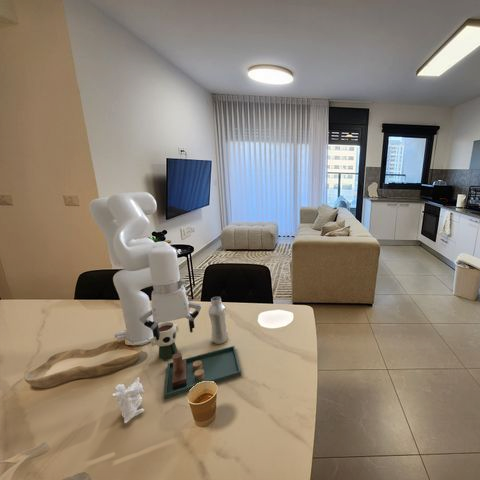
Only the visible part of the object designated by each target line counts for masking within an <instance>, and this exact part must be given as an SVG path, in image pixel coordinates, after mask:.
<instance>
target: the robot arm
mask: <svg viewBox="0 0 480 480" xmlns="http://www.w3.org/2000/svg"><path fill="white" fill-rule="evenodd" d="M157 207H158V205H157V200H156V199H155V197H154V196H153V195H152V194H151V193H149V192H146V191H137V192H136V191H134V192H133V191H132V192H120V193H119V192H117V193H115V194H114V193H113V194H112V195H110V196H105V197H98V198H94V199H92V200H91V201H90V202H89V204H88V208H89V213H90V216H91V218H92V220H93V221H94V223H95V224H96V225H97V227H98V228H99V229H100V230H101V233H102V234H103V236H104V240H105V243H106V246H107V249H108V252H109V256H110V259H111V261H112V263H113V264H114V265H115V266H117V267H122V268H123V269H120V270H118V271H117V272H116V273H115V274H114V275H113V277H112V281H113V285H114V288H115V290H116V292H117V294H118V298H119V301H120V305H121V311H122V315H123V320H124V325H125V330H123V331H118V332H115V333H114V337H115V338H116V340H117V341H118V340H122V339H123V340H124V339H126V340H128V341H129V342H130V343H132V344H136V345H139V346H143V345H147V344H148V343H151V341H150V340H151V338H153V337H156V341H157V340H159V337H160V332H159V327H158V324H160V323H164V322H173V321H176V320H181V319H187V320H188V327H189V333H193V329H195V328H196V327H195V319H196V318H197V317H198V316H199V313H200V311H201V308H202V304H199V303H196V302H190V301H189V297H188V293H187V290H186V287H185V286H184V285H186V284H187V280H186V279H182V278H181V274H180V266H179V259H178V253H177V249H176V248H175V247H173V246H171V244H170V243H169V242H167V241H163V240H162V241H156V242H155V241H154V240H153V239H152V238H149V237H144V238H138V237H140V236H142V235H143V234H144V233H145V232H147V230H148V229H150V228H149V227H150V220H149V218H148V217H147V216H150V215H153V214H155V213H156V212H157ZM136 238H138V239H136ZM149 287H152V289H153V290H152V291H151V301H150V297H149V295H148V294H147V293H145V292H144V291H141V290H143V289H147V288H149ZM190 309H195V310H194V311H193V312H191V311H190ZM139 346H138V347H139Z"/></svg>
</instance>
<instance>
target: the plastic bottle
mask: <svg viewBox="0 0 480 480" xmlns="http://www.w3.org/2000/svg"><path fill="white" fill-rule="evenodd" d="M210 302H211V303H210V304H211V305H210V307H209V308H208V317H209V319H210V324H211V341H212V343H214V344H215V345H221V344H224V343H226V342H227V341H228V339H229V332H228V329H227V324H226V306H224V304H223V303H222V298H221V296H213V297H211V298H210Z"/></svg>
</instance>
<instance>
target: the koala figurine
mask: <svg viewBox="0 0 480 480" xmlns="http://www.w3.org/2000/svg"><path fill="white" fill-rule="evenodd" d="M114 390H115V392H114V393H113V392H112V393H111V394H110V396H111V397H113V398H115V397H116V400H117V402H118V406H119V409H120V411H121V416H122V417H123V424H127V423H128V422H129V421H130V420H131V419H133V418H134V417H136V416H139V415H141V414H142V413H143V412H144V411H145V409H144V407H142V408H139V407H140V406H141V404H142V401H143V397H142V396H141V394H144V392H145V389H144V388H143V383H140V377H139V376H138V377H137V378H135V380H134V381H133V383H131V384H129V386H127V388H126V385H125V384H122V383H120V384H117V385H116V386H115V388H114ZM138 408H139V409H138Z"/></svg>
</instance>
